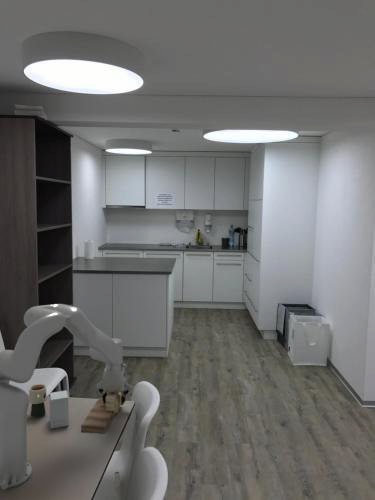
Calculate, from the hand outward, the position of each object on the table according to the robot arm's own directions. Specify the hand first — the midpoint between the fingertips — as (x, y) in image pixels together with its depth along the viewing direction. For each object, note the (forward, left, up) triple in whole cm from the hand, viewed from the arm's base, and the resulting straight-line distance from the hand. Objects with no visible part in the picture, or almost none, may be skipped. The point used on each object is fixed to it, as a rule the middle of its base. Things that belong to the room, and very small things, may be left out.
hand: (113, 402), depth 180 cm
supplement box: (-4, +24, -4) cm, 25 cm away
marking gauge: (0, 0, -2) cm, 2 cm away
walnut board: (-4, +6, -4) cm, 8 cm away
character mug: (+5, +33, -4) cm, 34 cm away
